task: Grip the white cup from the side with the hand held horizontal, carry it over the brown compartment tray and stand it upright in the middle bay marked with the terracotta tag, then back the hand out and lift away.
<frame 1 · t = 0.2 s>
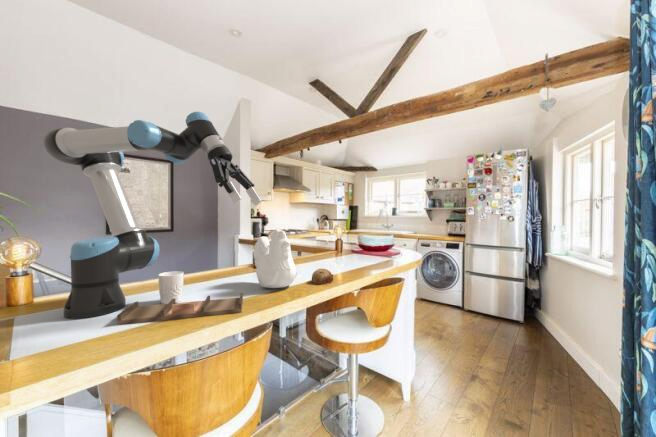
hand: (249, 202, 89), 35 cm above the counter, tool tilted 35°, fingers open, 13 cm apart
white cup: (171, 301, 95), on the counter
decorative rooster: (273, 285, 117), on the counter
bread roll: (322, 282, 122), on the counter
brown compartment tray: (187, 311, 85), on the counter
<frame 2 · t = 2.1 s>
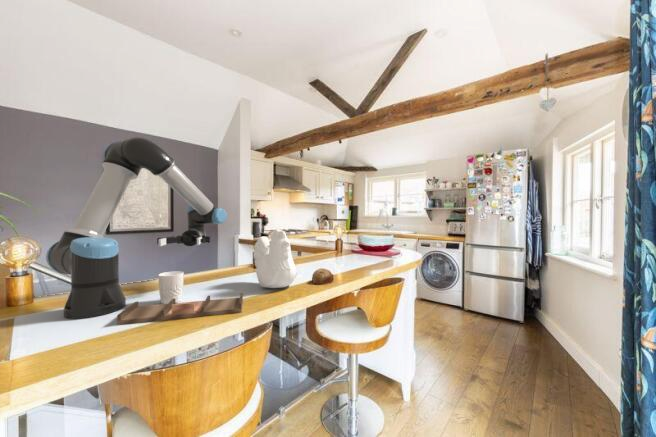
hand: (179, 242, 105), 20 cm above the counter, tool horizontal, fingers open, 13 cm apart
nothing on the counter moved.
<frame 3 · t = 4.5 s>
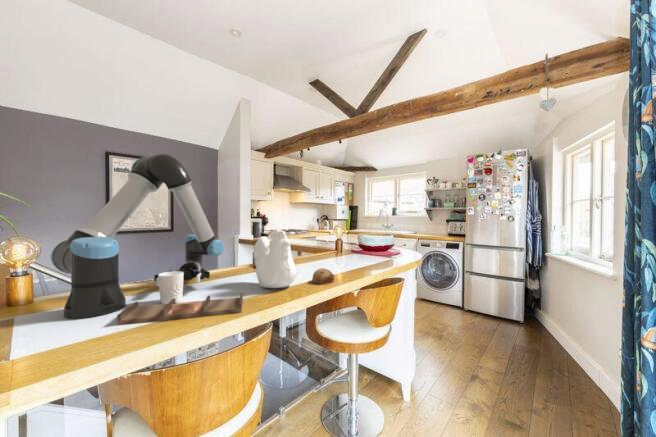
hand: (177, 281, 101), 6 cm above the counter, tool horizontal, fingers open, 13 cm apart
nothing on the counter moved.
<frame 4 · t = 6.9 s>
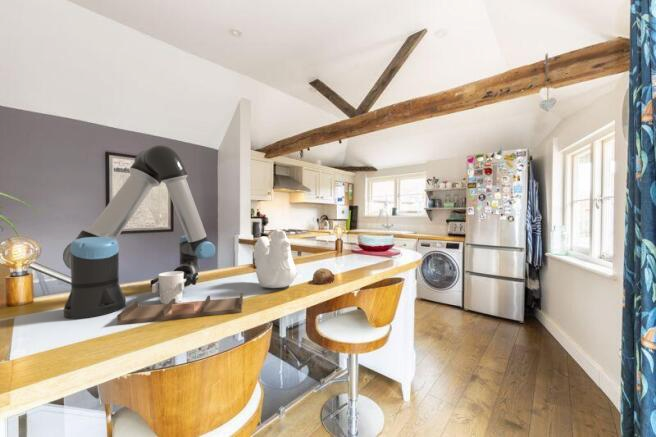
hand: (167, 287, 90), 6 cm above the counter, tool horizontal, fingers closed on white cup, 7 cm apart
white cup: (171, 301, 95), on the counter, touching gripper
everything else where it was.
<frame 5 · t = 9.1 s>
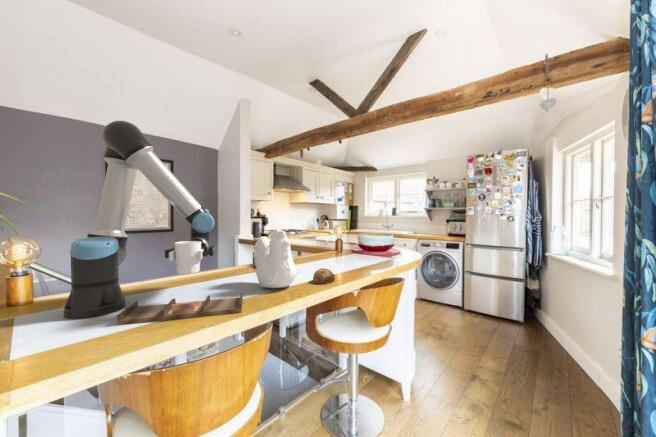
hand: (185, 256, 83), 18 cm above the counter, tool horizontal, fingers closed on white cup, 7 cm apart
white cup: (188, 272, 88), point 12 cm above the counter, touching gripper
everything else where it was.
when the fingers open (9 cm above the counter, at t = 11.5 s): white cup moves 2 cm, resting on brown compartment tray.
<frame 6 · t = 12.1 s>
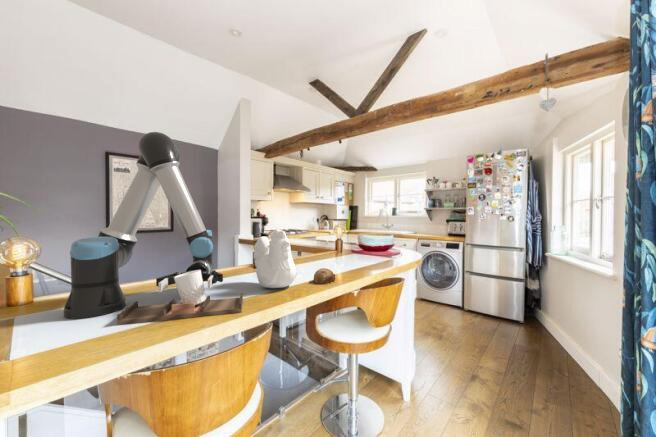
hand: (185, 285, 81), 9 cm above the counter, tool horizontal, fingers open, 13 cm apart
white cup: (195, 303, 86), point 2 cm above the counter, touching brown compartment tray
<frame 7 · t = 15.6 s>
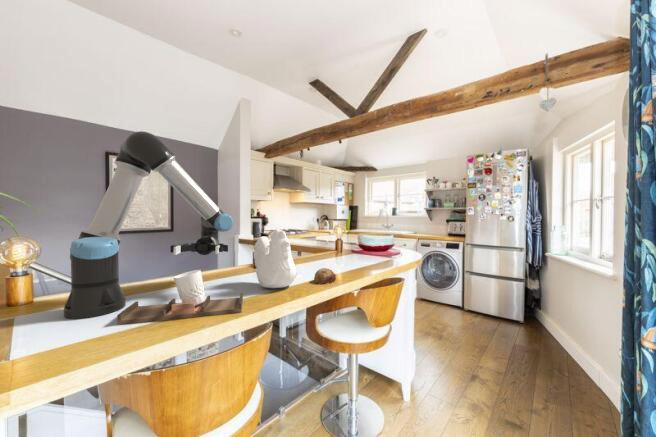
hand: (196, 250, 94), 18 cm above the counter, tool horizontal, fingers open, 13 cm apart
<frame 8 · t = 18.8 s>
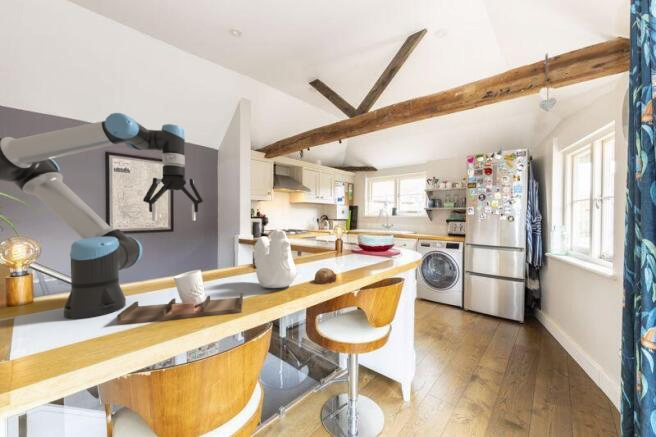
hand: (174, 220, 103), 29 cm above the counter, tool pointing down, fingers open, 13 cm apart
at the end: white cup 2.2 cm off-centre on the brown compartment tray, point 1.9 cm above the brown compartment tray's base; white cup tilted 13°; the gripper is holding nothing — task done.
